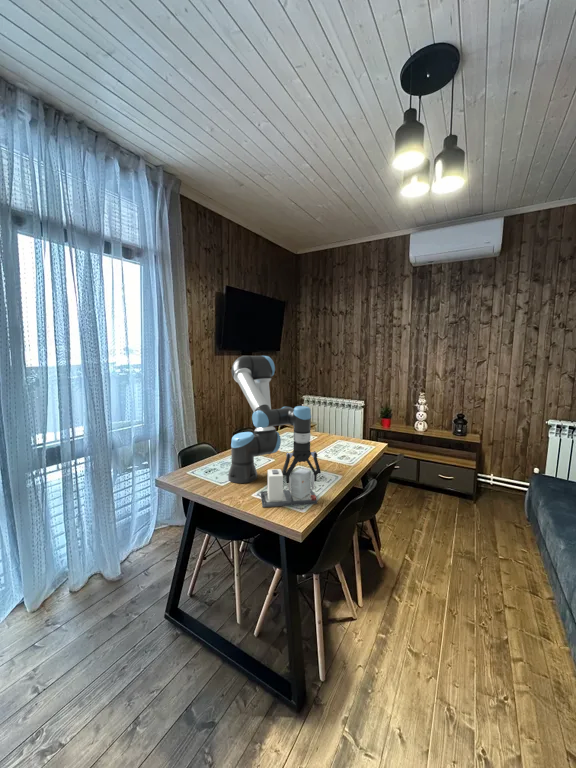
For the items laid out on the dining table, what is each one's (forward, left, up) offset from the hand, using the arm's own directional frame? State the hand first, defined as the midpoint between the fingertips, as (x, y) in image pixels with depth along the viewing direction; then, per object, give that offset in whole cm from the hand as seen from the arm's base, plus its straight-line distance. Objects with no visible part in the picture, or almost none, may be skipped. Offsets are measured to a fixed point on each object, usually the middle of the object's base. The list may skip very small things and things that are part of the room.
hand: (301, 488), depth 139 cm
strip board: (-6, 0, -4) cm, 7 cm away
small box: (0, 0, -3) cm, 3 cm away
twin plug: (-12, 0, -3) cm, 12 cm away
